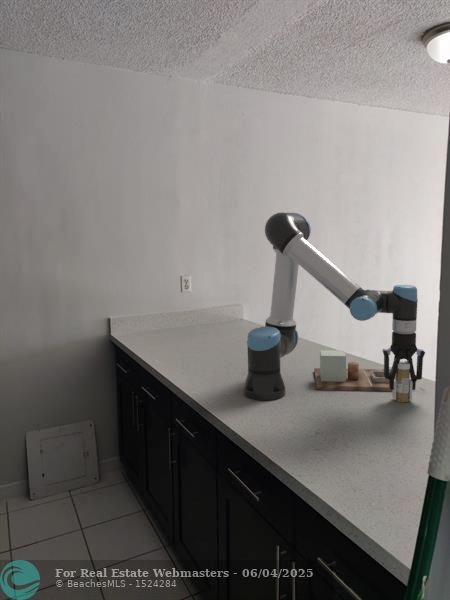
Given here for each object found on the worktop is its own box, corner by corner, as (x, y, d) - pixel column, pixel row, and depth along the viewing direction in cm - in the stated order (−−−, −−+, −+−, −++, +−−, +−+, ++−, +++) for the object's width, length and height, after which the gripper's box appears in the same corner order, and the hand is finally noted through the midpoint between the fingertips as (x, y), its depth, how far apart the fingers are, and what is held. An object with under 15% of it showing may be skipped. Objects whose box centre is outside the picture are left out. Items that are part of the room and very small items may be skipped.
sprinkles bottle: (392, 398, 164) (393, 360, 162) (405, 397, 164) (406, 360, 162) (398, 403, 159) (399, 364, 157) (411, 402, 160) (412, 363, 158)
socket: (373, 382, 176) (373, 377, 176) (370, 375, 184) (370, 370, 184) (396, 383, 175) (396, 377, 175) (392, 376, 183) (392, 371, 183)
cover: (321, 381, 179) (321, 355, 178) (320, 374, 187) (320, 350, 185) (345, 381, 178) (346, 356, 176) (343, 375, 186) (343, 350, 184)
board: (317, 389, 175) (317, 370, 174) (314, 371, 196) (314, 354, 195) (405, 391, 170) (405, 371, 169) (392, 373, 192) (392, 355, 191)
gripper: (378, 333, 156) (377, 401, 159) (435, 334, 153) (432, 403, 157) (375, 329, 163) (373, 394, 167) (428, 329, 161) (425, 395, 164)
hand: (401, 398), depth 162 cm, fingers closed on sprinkles bottle, 4 cm apart
